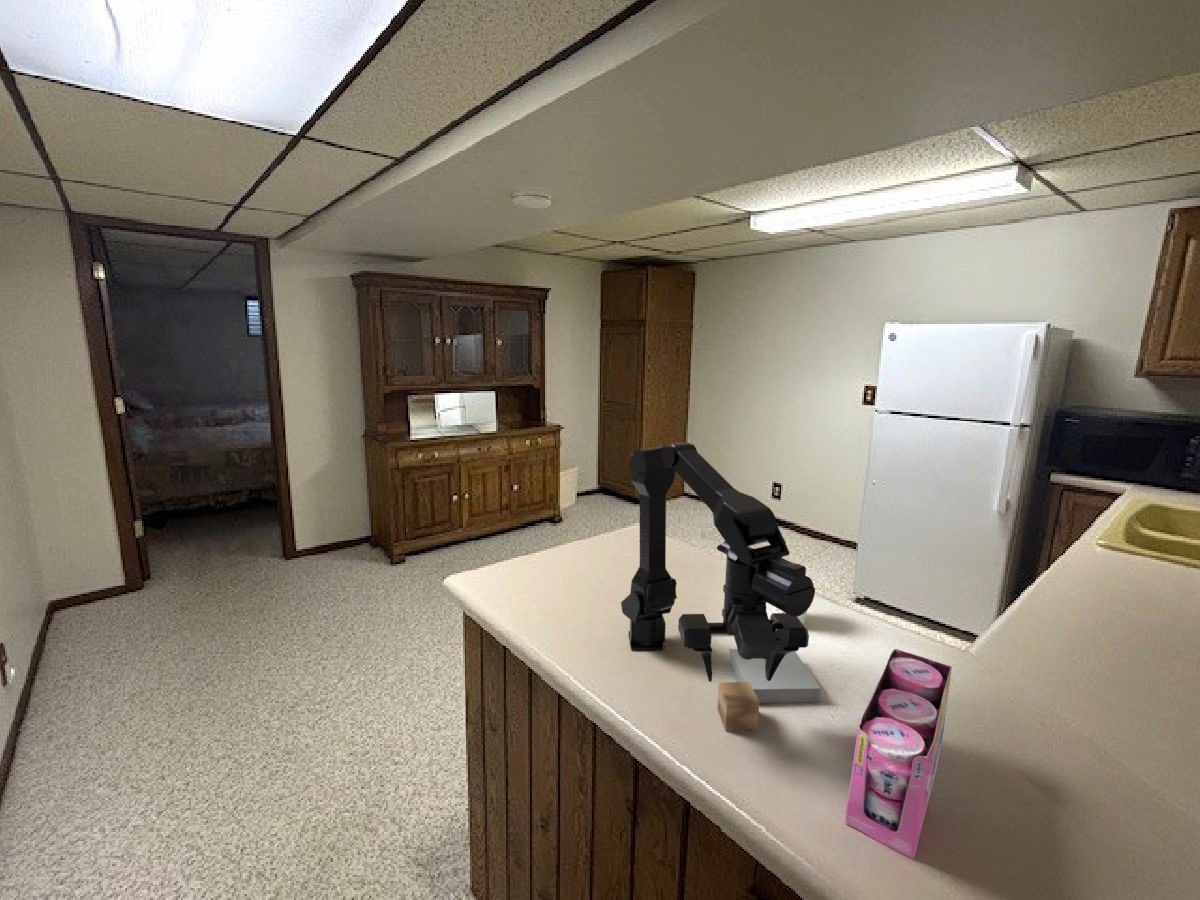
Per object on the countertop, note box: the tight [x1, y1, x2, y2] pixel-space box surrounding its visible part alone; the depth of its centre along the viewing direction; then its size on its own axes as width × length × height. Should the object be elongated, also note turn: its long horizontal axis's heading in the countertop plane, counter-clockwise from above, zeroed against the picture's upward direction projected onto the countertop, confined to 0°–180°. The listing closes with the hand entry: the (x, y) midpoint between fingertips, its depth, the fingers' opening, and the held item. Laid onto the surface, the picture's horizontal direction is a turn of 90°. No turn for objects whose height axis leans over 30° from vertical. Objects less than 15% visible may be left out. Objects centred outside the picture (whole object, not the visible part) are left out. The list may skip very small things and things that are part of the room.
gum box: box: [844, 648, 953, 860], centre depth 70 cm, size 24×8×14 cm, turn 141°
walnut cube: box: [717, 681, 760, 732], centre depth 84 cm, size 5×5×5 cm
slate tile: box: [728, 648, 822, 704], centre depth 94 cm, size 12×12×2 cm
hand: (738, 679), depth 83 cm, fingers open, 9 cm apart
